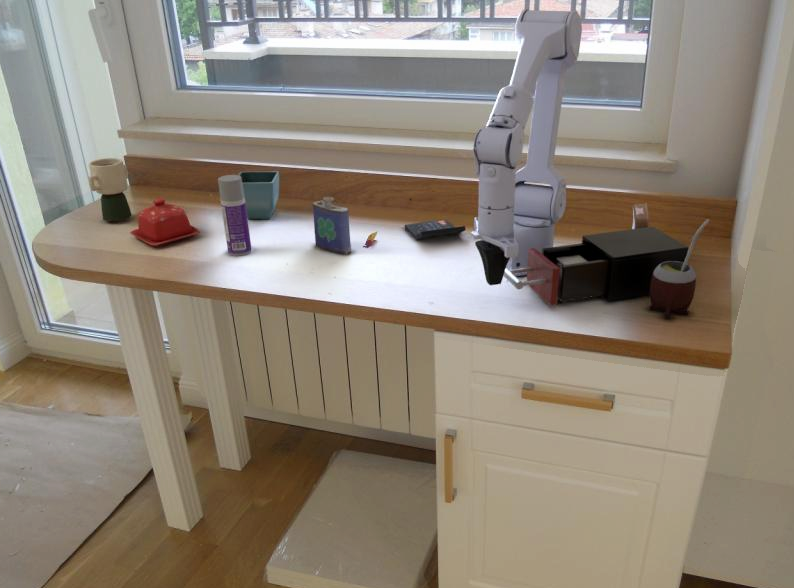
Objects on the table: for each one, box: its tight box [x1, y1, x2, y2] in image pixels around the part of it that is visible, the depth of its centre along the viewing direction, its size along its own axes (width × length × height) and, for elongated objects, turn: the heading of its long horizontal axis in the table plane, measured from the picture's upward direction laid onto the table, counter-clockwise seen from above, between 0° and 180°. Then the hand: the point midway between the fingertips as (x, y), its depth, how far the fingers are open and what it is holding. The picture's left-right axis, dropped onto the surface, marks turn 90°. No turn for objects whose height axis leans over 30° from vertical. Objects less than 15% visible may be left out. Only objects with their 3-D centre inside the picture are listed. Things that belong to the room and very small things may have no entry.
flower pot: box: [238, 170, 280, 220], centre depth 179 cm, size 9×9×9 cm
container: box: [217, 174, 253, 257], centre depth 158 cm, size 5×5×15 cm
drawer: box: [503, 242, 612, 307], centre depth 138 cm, size 19×10×7 cm, turn 107°
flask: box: [312, 196, 352, 255], centre depth 159 cm, size 9×3×11 cm, turn 50°
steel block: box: [556, 255, 588, 286], centre depth 139 cm, size 4×4×4 cm
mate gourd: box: [649, 218, 711, 320], centre depth 130 cm, size 8×8×15 cm
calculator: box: [404, 219, 466, 241], centre depth 168 cm, size 9×12×3 cm
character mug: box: [87, 157, 133, 223], centre depth 178 cm, size 11×7×13 cm, turn 154°
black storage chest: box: [581, 226, 689, 303], centre depth 141 cm, size 14×11×8 cm
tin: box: [631, 203, 650, 229], centre depth 155 cm, size 15×3×8 cm, turn 168°
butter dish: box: [129, 197, 201, 247], centre depth 168 cm, size 12×12×8 cm
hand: (494, 283), depth 135 cm, fingers closed
